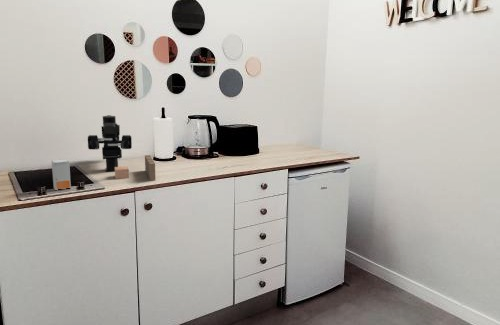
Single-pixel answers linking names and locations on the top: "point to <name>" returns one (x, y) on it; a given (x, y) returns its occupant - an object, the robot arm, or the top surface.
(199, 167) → the top surface
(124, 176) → the terracotta block
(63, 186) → the skincare box
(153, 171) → the walnut board
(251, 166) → the top surface
